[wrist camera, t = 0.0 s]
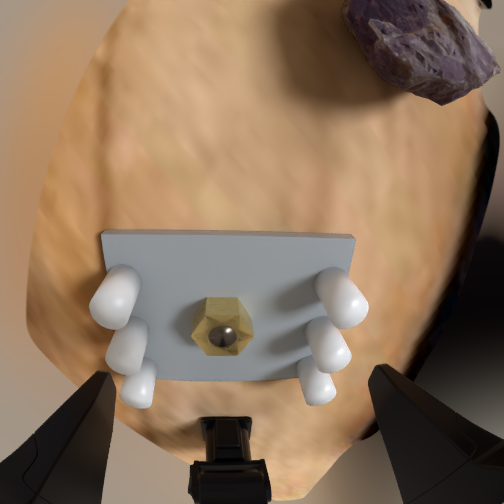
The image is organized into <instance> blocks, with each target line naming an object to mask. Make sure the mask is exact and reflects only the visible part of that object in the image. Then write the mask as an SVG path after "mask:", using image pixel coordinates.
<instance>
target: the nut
mask: <svg viewBox="0 0 504 504" xmlns="http://www.w3.org/2000/svg"><path fill="white" fill-rule="evenodd" d="M191 337H192V339H193V340H194V341H195V342H196V343H197V344H198V346H199V347H200V348H201V349H202V350H203V351H204V353H205V354H206V355H207V356H238V355H239V354H240V353H241V352H242V350H243V349H244V348H245V347H246V346H247V345H248V344H249V342H250V341H251V340H252V339H253V338H254V331H253V325H252V319H251V317H250V315H249V314H248V312H247V311H246V309H245V308H244V306H243V305H242V303H241V302H240V300H239V299H238V297H206V299H205V300H204V302H203V303H202V305H201V306H200V308H199V309H198V311H197V312H196V314H195V315H194V317H193V319H192V328H191Z"/></svg>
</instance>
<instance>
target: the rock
mask: <svg viewBox="0 0 504 504" xmlns="http://www.w3.org/2000/svg"><path fill="white" fill-rule="evenodd" d="M341 15H342V18H343V19H344V21H345V23H346V25H347V27H348V29H349V31H350V32H351V33H353V36H354V37H355V38H357V40H358V42H359V46H360V47H361V48H362V50H363V52H364V53H365V56H366V60H367V61H368V63H369V65H370V66H371V67H372V68H374V69H375V70H376V71H377V74H378V75H379V76H380V77H381V78H382V79H383V80H385V81H386V82H387V83H389V84H391V85H393V86H396V87H400V88H401V89H403V90H405V91H407V92H411V93H413V94H414V95H416V96H420V97H423V98H427V99H430V100H432V101H434V102H435V103H437V104H439V105H441V106H443V105H445V104H448V103H451V102H453V101H455V100H456V99H458V98H461V97H463V96H465V95H467V94H468V93H469V92H470V91H471V90H473V89H476V88H479V87H480V86H483V84H484V83H485V82H487V81H488V80H489V79H490V78H491V77H493V76H494V75H496V74H498V73H500V70H501V69H500V67H499V66H498V64H497V62H496V60H495V54H494V53H493V52H492V51H491V49H490V48H489V46H488V45H487V44H486V43H485V42H484V41H483V40H482V39H481V38H480V37H479V36H478V35H477V34H476V33H475V31H474V29H473V27H472V26H471V25H470V24H469V23H468V22H467V21H466V20H465V19H464V17H463V16H462V15H461V13H460V12H459V11H458V10H457V9H456V8H455V7H454V6H451V5H449V4H448V3H446V2H445V1H444V0H345V2H344V4H343V7H342V10H341Z"/></svg>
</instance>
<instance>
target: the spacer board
mask: <svg viewBox="0 0 504 504" xmlns="http://www.w3.org/2000/svg"><path fill="white" fill-rule="evenodd" d="M101 239H102V246H103V253H104V259H105V265H106V271H107V275H106V277H105V279H104V280H103V282H102V283H101V285H100V286H99V288H98V290H97V291H96V293H95V294H94V296H93V298H92V299H91V301H90V304H89V310H90V314H91V316H92V317H93V319H94V320H95V321H96V322H97V323H98V324H99V325H101V326H102V327H105V328H107V329H111V330H115V333H114V335H113V338H112V340H111V343H110V345H109V348H108V350H107V353H106V356H105V360H106V363H107V364H108V366H109V367H110V368H111V369H112V370H114V371H115V372H117V373H119V374H122V375H125V378H124V381H123V385H122V389H121V392H120V398H121V400H122V401H123V402H124V403H126V404H127V405H129V406H131V407H134V408H139V409H144V408H148V407H150V406H151V404H152V398H153V392H154V386H155V380H156V379H161V380H178V381H259V380H277V379H291V378H299V381H300V384H301V387H302V391H303V394H304V397H305V401H306V403H307V404H308V405H310V406H319V405H323V404H326V403H328V402H329V401H331V400H332V399H333V398H334V397H335V395H336V389H335V387H334V384H333V382H332V379H331V377H330V374H329V373H334V372H337V371H339V370H341V369H343V368H344V367H345V366H346V365H347V364H348V363H349V362H350V360H351V352H350V350H349V349H348V347H347V345H346V343H345V341H344V339H343V337H342V335H341V333H340V331H339V329H349V328H352V327H354V326H356V325H358V324H359V323H360V322H361V321H362V320H363V319H364V318H365V317H366V315H367V312H368V308H369V306H368V302H367V300H366V299H365V298H364V296H363V295H362V294H361V292H360V291H359V290H358V288H357V287H356V286H355V284H354V283H353V282H352V280H351V279H350V278H349V277H348V274H349V270H350V265H351V261H352V256H353V252H354V247H355V242H356V238H355V237H353V236H352V235H351V234H328V233H299V232H265V231H218V230H105V231H104V232H103V233H102V234H101ZM206 297H238V299H239V300H240V302H241V303H242V305H243V306H244V308H245V309H246V311H247V312H248V314H249V315H250V317H251V319H252V325H253V331H254V338H253V339H252V340H251V341H250V342H249V344H248V345H247V346H246V347H245V348H244V349H243V350H242V352H241V353H240V354H239V355H238V356H207V355H206V354H205V353H204V351H203V350H202V349H201V348H200V347H199V346H198V344H197V343H196V342H195V341H194V340H193V339H192V337H191V328H192V319H193V317H194V315H195V314H196V312H197V311H198V309H199V308H200V306H201V305H202V303H203V302H204V300H205V299H206ZM338 328H339V329H338Z"/></svg>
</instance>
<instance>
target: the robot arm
mask: <svg viewBox="0 0 504 504" xmlns="http://www.w3.org/2000/svg"><path fill="white" fill-rule="evenodd" d="M368 387H369V391H370V395H371V399H372V403H373V408H374V412H375V416H376V420H377V423H378V426H379V429H380V431H381V434H382V437H383V440H384V443H385V446H386V449H387V452H388V455H389V458H390V461H391V464H392V467H393V471H394V474H395V477H396V480H397V483H398V487H399V490H400V493H401V497H402V500H403V504H504V439H502V438H500V437H498V436H496V435H494V434H492V433H490V432H488V431H486V430H484V429H482V428H481V427H479V426H477V425H475V424H474V423H472V422H470V421H469V420H467V419H466V418H464V417H462V416H461V415H460V414H458V413H455V411H454V410H452V409H451V408H450V407H448V406H447V405H445V404H444V403H442V402H441V401H439V400H438V399H437V398H435V397H434V396H432V395H431V394H429V393H428V392H426V391H425V390H424V389H422V388H421V387H419V386H418V385H416V384H415V383H414V382H412V381H411V380H409V379H408V378H406V377H405V376H404V375H402V374H401V373H399V372H398V371H397V370H395V369H394V368H392V367H391V366H389V365H388V364H379V365H376V366H375V367H374V369H373V371H372V374H371V376H370V378H369V380H368ZM115 401H116V386H115V384H114V381H113V379H112V376H111V374H110V373H109V372H108V371H101V370H99V371H96V372H95V373H94V374H93V375H92V376H91V377H90V378H89V379H88V380H87V381H86V382H85V383H84V384H83V385H82V386H81V387H80V388H79V389H78V390H77V391H76V392H75V393H74V394H73V395H72V396H71V397H70V398H69V399H68V400H66V402H64V403H63V405H62V406H60V408H58V409H57V410H56V411H55V412H54V413H53V414H52V415H51V416H50V417H49V418H48V419H47V420H46V421H45V422H44V423H43V425H41V426H40V428H38V429H37V430H36V431H35V434H32V435H31V436H30V437H29V438H28V439H27V440H26V441H25V442H24V443H23V444H22V445H21V446H20V447H19V448H18V449H16V450H15V451H14V452H13V453H12V454H11V455H9V456H8V457H7V458H6V459H4V460H3V461H2V462H1V463H0V504H101V500H102V492H103V485H104V478H105V471H106V465H107V459H108V454H109V448H110V442H111V437H112V432H113V422H114V411H115ZM201 424H202V431H203V438H204V441H206V461H194V464H193V465H190V478H189V485H188V493H189V494H190V495H191V496H192V498H193V499H194V503H195V504H268V502H270V501H271V497H272V495H271V485H270V480H269V476H268V472H267V468H266V464H265V460H264V459H260V460H251V452H250V444H249V440H250V433H251V426H252V418H251V417H238V418H202V419H201Z"/></svg>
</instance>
